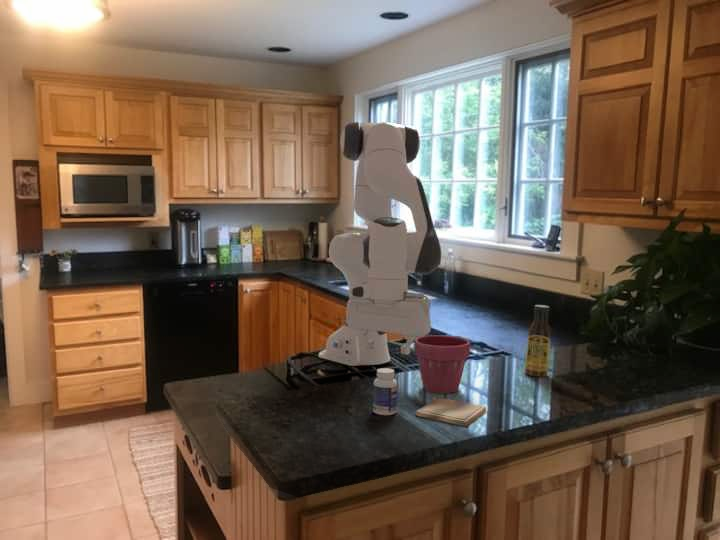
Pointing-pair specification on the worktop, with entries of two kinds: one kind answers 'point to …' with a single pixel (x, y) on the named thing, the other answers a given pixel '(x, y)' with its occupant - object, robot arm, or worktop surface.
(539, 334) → the sauce bottle
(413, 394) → the worktop surface
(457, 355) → the plant pot
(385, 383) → the pill bottle
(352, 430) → the worktop surface
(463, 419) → the wooden coaster
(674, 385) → the worktop surface
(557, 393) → the worktop surface
